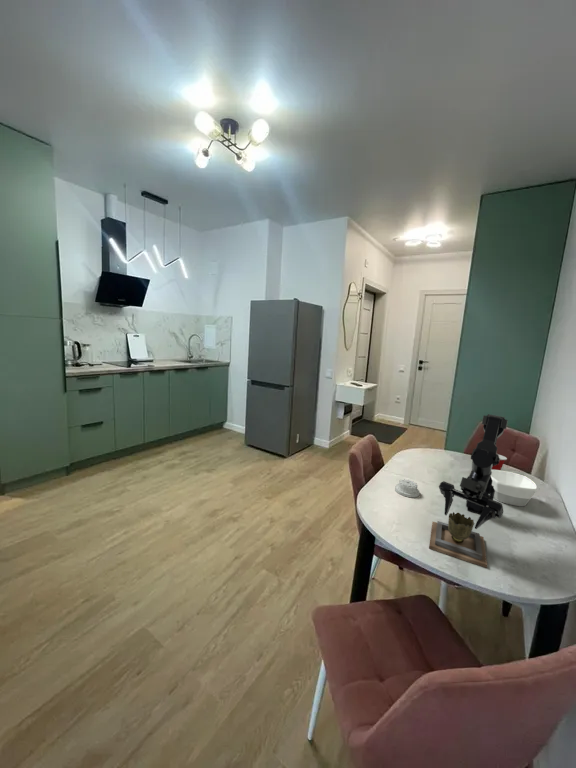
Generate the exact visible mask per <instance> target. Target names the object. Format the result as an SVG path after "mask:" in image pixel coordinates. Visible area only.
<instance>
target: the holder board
mask: <svg viewBox="0 0 576 768" xmlns="http://www.w3.org/2000/svg"><path fill="white" fill-rule="evenodd" d="M431 523H432V524H431V531H430V538H429V547H428V549H429V550H433V551H435V552H438V553H441V554H445V555H448V556H451V557H453V558H455V559H456V558H457V559H459V560H462V561H465V562H467V563H471V564H474V565H477V566H480V567H483V568H485V569H488V561H487V553H486V552H487V551H486V545H485V539H484V536H481V535H480V533H478V532H475V531H473V530H472V531H471V534H470V536H469V537H468V538H467V539H464V541H463V543H457V542H455V541H453V540H452V537H451V536H452V535H451V534H450V532H449V529H448V523H447V522H443V521H440V520H439V521H438V520H437V522H435V521H432V522H431Z"/></svg>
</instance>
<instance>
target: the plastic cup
mask: <svg viewBox="0 0 576 768" xmlns="http://www.w3.org/2000/svg"><path fill="white" fill-rule="evenodd" d="M497 454H498V453H497ZM498 456H499V458H500V460H499V465H498V464H496V466H493V467H492V470H502V467H503V466H504V463H505V461H507V460H508V458H507V457H506V456H504V455H501V454H498Z"/></svg>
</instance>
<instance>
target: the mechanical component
mask: <svg viewBox="0 0 576 768" xmlns="http://www.w3.org/2000/svg"><path fill="white" fill-rule="evenodd" d="M418 486H419V485H418V484H417V482H414V480H411V479H405V478H404V479H400V480H399V481H398V484H395V485H394V490H395V492H396V493H397V494H399V495H400V496H404V497H407V498H418V497H419V496H420V493H421V492H420V490H419V488H418Z"/></svg>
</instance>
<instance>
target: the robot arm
mask: <svg viewBox="0 0 576 768" xmlns="http://www.w3.org/2000/svg"><path fill="white" fill-rule="evenodd" d="M508 421H509V420H508V419H506V417H505V416H501V415H500V416H499V415H496V414H490V413H487V414H486V415H483V416H482V420H481V425H483V431H484V434H483V438H482V440H481V441H479V442H477V444H476V448H473V450H472V452H471V455H470V460H472V461H471V471H470V473H469V475H467V477H464V476H463V477H462V478H461V481H460V483H459V487H460V490H461V491H460V490H458V489H456V488H455V485H454V484H452V483H450V482H447V481H444V480H443V481H442V482H440V483H439V485H438V488H439V491H440V493H441V495H443V498H444V499H445V501H444V502H445V503H444V515H445V516H447V515H448V513H449V512H450V509H451V506H452V505H453V502H454V498H455V496H456V497H458V498H460V499H462V500H465V501H466V503H465V507H466V509H467V511H468V512H472V513H475V514H479V515H480V516H479V517H478V518H477V521H476V523H475V524H474V529H475V530H477V529H478V528H480V527H481V526H482V525H483V524H485V523H486V522H487V521H489V520H491V519H494V520H496V519H497V518H499V519H502V517H503V515H504V506H503V503H502V502H500V501H496V500H494V499H495V498H494V493H495V490H494V488H493V487H494V486H492V478H491V474H492V471H491V470H492V467H493V466H496V464H498V465H499V460H500V458H499V456H498V453H497V452H498V446H497V440H498V439H499V438H500V437H501V436H502V435H503V433H504V431H505V430H506V429H507V427H508V426H507V425H508Z"/></svg>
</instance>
